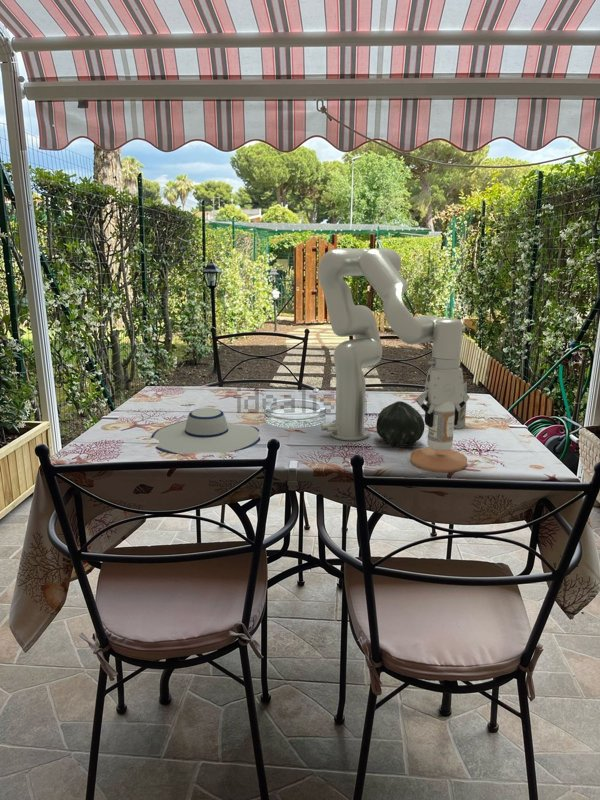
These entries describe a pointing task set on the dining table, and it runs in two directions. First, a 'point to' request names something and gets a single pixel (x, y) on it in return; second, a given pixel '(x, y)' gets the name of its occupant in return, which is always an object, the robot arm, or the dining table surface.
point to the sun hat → (205, 434)
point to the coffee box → (462, 410)
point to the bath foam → (442, 427)
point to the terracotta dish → (438, 460)
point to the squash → (400, 424)
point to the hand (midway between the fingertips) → (441, 424)
